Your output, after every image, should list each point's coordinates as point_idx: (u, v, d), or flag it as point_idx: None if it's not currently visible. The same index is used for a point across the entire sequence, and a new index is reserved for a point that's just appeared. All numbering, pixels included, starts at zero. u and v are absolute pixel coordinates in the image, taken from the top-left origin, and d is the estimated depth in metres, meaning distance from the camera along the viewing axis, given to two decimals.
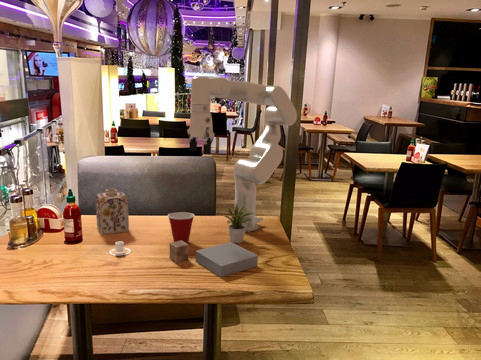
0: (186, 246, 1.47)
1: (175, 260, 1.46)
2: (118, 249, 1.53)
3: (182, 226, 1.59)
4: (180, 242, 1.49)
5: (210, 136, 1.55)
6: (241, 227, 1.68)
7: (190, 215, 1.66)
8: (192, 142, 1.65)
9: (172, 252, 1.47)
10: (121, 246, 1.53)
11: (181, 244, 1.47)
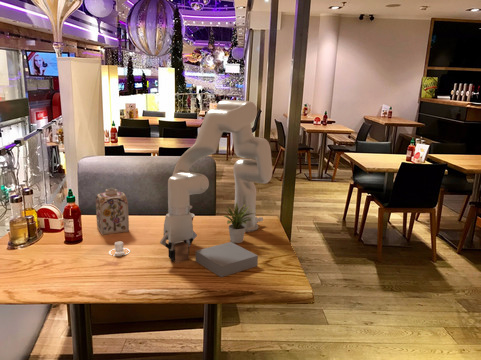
0: (186, 246, 1.47)
1: (175, 260, 1.46)
2: (117, 249, 1.52)
3: None
4: (180, 242, 1.49)
5: (194, 237, 1.51)
6: (241, 227, 1.68)
7: None
8: None
9: None
10: (120, 246, 1.52)
11: (181, 244, 1.47)
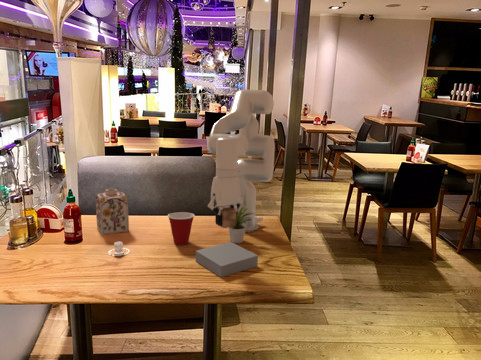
0: (234, 211, 1.41)
1: (222, 225, 1.41)
2: (117, 249, 1.52)
3: (182, 226, 1.59)
4: (227, 207, 1.44)
5: (240, 202, 1.45)
6: (241, 227, 1.68)
7: (190, 215, 1.66)
8: None
9: None
10: (120, 246, 1.52)
11: (229, 209, 1.42)
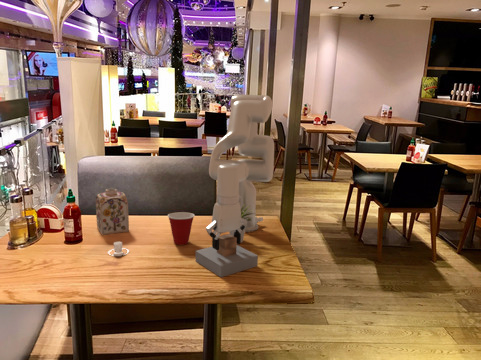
0: (234, 240, 1.44)
1: (224, 254, 1.43)
2: (116, 249, 1.52)
3: (182, 226, 1.59)
4: (228, 235, 1.46)
5: (244, 223, 1.48)
6: None
7: (190, 215, 1.66)
8: None
9: (220, 246, 1.44)
10: (119, 246, 1.52)
11: (229, 238, 1.44)
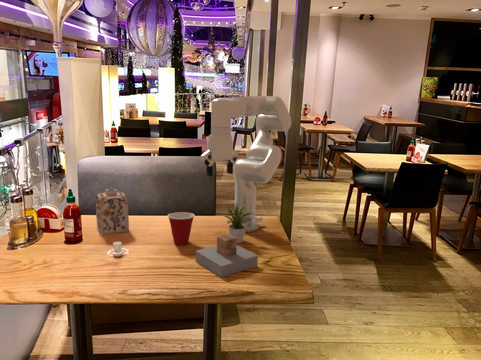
0: (234, 240, 1.44)
1: (224, 254, 1.43)
2: (116, 250, 1.52)
3: (182, 226, 1.59)
4: (228, 235, 1.46)
5: (236, 155, 1.64)
6: (241, 227, 1.68)
7: (190, 215, 1.66)
8: None
9: (220, 246, 1.44)
10: (119, 247, 1.52)
11: (229, 238, 1.44)
